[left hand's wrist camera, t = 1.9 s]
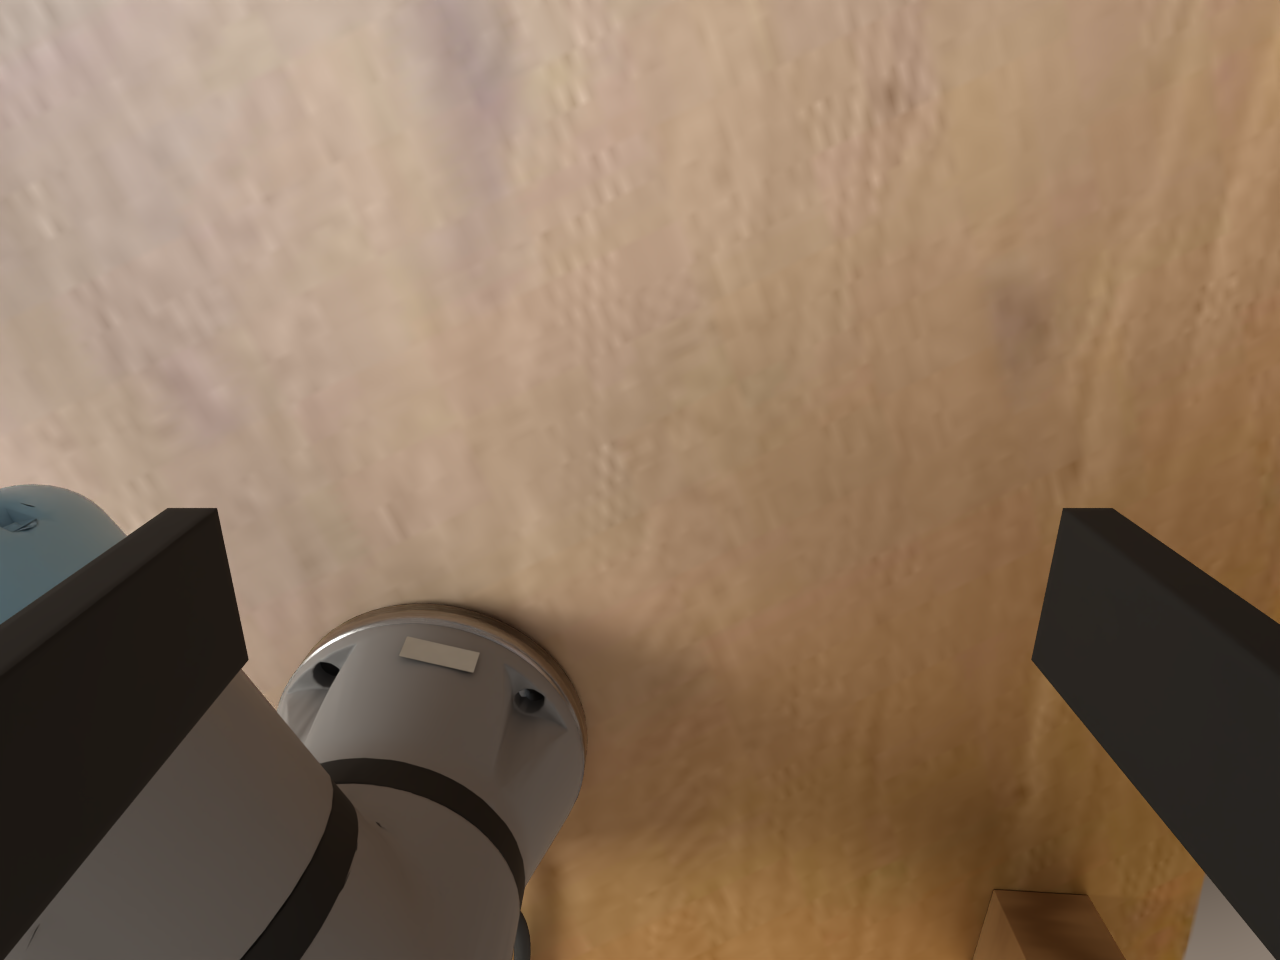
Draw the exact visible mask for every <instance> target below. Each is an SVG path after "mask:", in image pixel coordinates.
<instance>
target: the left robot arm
mask: <svg viewBox="0 0 1280 960" xmlns="http://www.w3.org/2000/svg"><path fill="white" fill-rule="evenodd" d="M247 661H248V655H247V650H246V645H245V640H244V636H243V631H242V626H241V621H240V616H239V612H238V607H237V602H236V597H235V592H234V588H233V583H232V578H231V573H230V568H229V564H228V559H227V554H226V549H225V544H224V540H223V535H222V530H221V525H220V521H219V516H218V511H217V508H167V509H166V510H164V511H163V512H161V513H160V514H158V515H157V516H156V517H154V518H153V519H151V520H150V521H148V522H147V523H146V524H144V525H143V526H141V527H140V528H138V529H137V530H135V531H134V532H133V533H131V534H130V535H128V536H127V535H126V534H125V533H124V532H123V531H122V530H121V529H120V528H119V527H118V526H117V525H116V524H115V522H114V521H113V520H112V519H111V518H110V517H109V516H108V515H107V514H106V513H105V512H104V511H103V510H102V509H101V508H100V507H99V506H98V505H96V504H95V503H94V502H92V501H91V500H89V499H88V498H86V497H84V496H82V495H80V494H78V493H76V492H73V491H70V490H68V489H64V488H60V487H55V486H48V485H34V484H31V485H17V486H11V487H5V488H1V489H0V960H512V956H513V950H514V960H530V935H529V930H528V926H527V923H526V920H525V918H524V916H523V914H522V913H521V911H520V910H521V905H522V900H523V894H524V889H525V886H526V885H527V883H528V881H529V880H530V878H531V876H532V875H533V873H534V871H535V870H536V868H537V866H538V865H539V863H540V861H541V860H542V858H543V857H544V855H545V853H546V852H547V850H548V848H549V847H550V845H551V843H552V842H553V840H554V838H555V837H556V835H557V833H558V832H559V830H560V829H561V827H562V825H563V824H564V822H565V820H566V819H567V817H568V815H569V813H570V811H571V809H572V808H573V806H574V803H575V801H576V799H577V797H578V794H579V791H580V788H581V785H582V780H583V775H584V767H585V759H586V751H587V727H586V720H585V715H584V712H583V708H582V705H581V702H580V700H579V697H578V695H577V693H576V691H575V689H574V687H573V685H572V683H571V682H570V680H569V679H568V677H567V676H566V674H565V673H564V671H563V670H562V669H561V667H560V666H559V665H558V664H557V663H556V661H555V660H554V659H553V658H552V657H551V656H550V655H549V654H548V653H547V652H546V651H545V650H544V649H543V648H541V647H540V646H539V645H538V644H536V643H535V642H534V641H533V640H532V639H530V638H529V637H527V636H526V635H524V634H523V633H521V632H520V631H518V630H516V629H514V628H513V627H511V626H509V625H507V624H505V623H503V622H501V621H499V620H497V619H494V618H492V617H490V616H487V615H484V614H481V613H478V612H475V611H471V610H467V609H464V608H459V607H453V606H448V605H439V604H404V605H396V606H390V607H384V608H380V609H377V610H373V611H370V612H367V613H364V614H362V615H359V616H356V617H354V618H352V619H350V620H348V621H346V622H344V623H343V624H341V625H340V626H338V627H337V628H335V629H333V630H332V631H331V632H330V633H328V634H327V635H326V636H325V637H323V638H322V639H321V640H320V641H319V642H318V643H317V644H316V645H315V646H314V647H313V649H312V650H311V651H310V653H309V654H308V655H307V656H306V658H305V659H304V660H303V662H302V663H301V665H300V666H299V667H298V669H297V670H296V672H295V673H294V674H293V676H292V677H291V679H290V680H289V682H288V684H287V686H286V687H285V689H284V692H283V694H282V696H281V699H280V702H279V705H278V709H277V711H276V710H275V709H274V708H273V707H272V705H271V704H270V703H269V702H268V701H267V699H266V698H265V697H264V696H263V694H262V693H261V692H260V691H259V690H258V688H257V687H256V686H255V685H254V684H253V682H252V681H251V680H250V679H249V678H248V676H247V675H246V674H245V673H244V672H243V670H242V669H241V668H242V667H243V666H244V665H245V663H246V662H247ZM1032 661H1033V662H1034V663H1035V665H1036V666H1037V667H1038V668H1039V670H1040V671H1041V672H1042V673H1043V674H1044V676H1045V677H1046V678H1047V679H1048V681H1049V682H1050V683H1051V684H1052V686H1053V687H1054V688H1055V689H1056V690H1057V692H1058V693H1059V694H1060V695H1061V697H1062V698H1063V699H1064V700H1065V701H1066V703H1067V704H1068V705H1069V706H1070V708H1071V709H1072V710H1073V711H1074V712H1075V714H1076V715H1077V716H1078V717H1079V719H1080V720H1081V721H1082V722H1083V724H1084V725H1085V726H1086V727H1087V728H1088V730H1089V731H1090V732H1091V733H1092V735H1093V736H1094V737H1095V738H1096V739H1097V741H1098V742H1099V743H1100V744H1101V746H1102V747H1103V748H1104V749H1105V750H1106V752H1107V753H1108V754H1109V755H1110V757H1111V758H1112V759H1113V760H1114V762H1115V763H1116V764H1117V765H1118V766H1119V768H1120V769H1121V770H1122V771H1123V773H1124V774H1125V775H1126V776H1127V777H1128V779H1129V780H1130V781H1131V782H1132V784H1133V785H1134V786H1135V787H1136V788H1137V790H1138V791H1139V792H1140V793H1141V795H1142V796H1143V797H1144V798H1145V800H1146V801H1147V802H1148V803H1149V804H1150V806H1151V807H1152V808H1153V809H1154V811H1155V812H1156V813H1157V814H1158V815H1159V817H1160V818H1161V819H1162V820H1163V822H1164V823H1165V824H1166V825H1167V827H1168V828H1169V829H1170V830H1171V831H1172V833H1173V834H1174V835H1175V836H1176V838H1177V839H1178V840H1179V841H1180V842H1181V844H1182V845H1183V846H1184V847H1185V849H1186V850H1187V851H1188V852H1189V853H1190V855H1191V856H1192V857H1193V858H1194V860H1195V861H1196V862H1197V863H1198V865H1199V866H1200V867H1201V868H1202V869H1203V871H1204V872H1205V873H1206V874H1207V876H1208V877H1209V878H1210V879H1211V880H1212V882H1213V883H1214V884H1215V885H1216V887H1217V888H1218V889H1219V890H1220V891H1221V893H1222V894H1223V895H1224V896H1225V898H1226V899H1227V900H1228V901H1229V903H1230V904H1231V905H1232V906H1233V907H1234V909H1235V910H1236V911H1237V912H1238V913H1239V915H1240V916H1241V917H1242V918H1243V920H1244V921H1245V922H1246V923H1247V925H1248V926H1249V927H1250V928H1251V929H1252V931H1253V932H1254V933H1255V934H1256V936H1257V937H1258V938H1259V939H1260V941H1261V942H1262V943H1263V944H1264V945H1265V947H1266V948H1267V949H1268V950H1269V952H1270V953H1271V954H1272V955H1273V956H1274V958H1275V959H1276V960H1280V624H1278V623H1277V622H1275V621H1274V620H1273V619H1271V618H1270V617H1268V616H1267V615H1265V614H1264V613H1262V612H1261V611H1260V610H1258V609H1257V608H1255V607H1254V606H1252V605H1251V604H1250V603H1248V602H1247V601H1245V600H1244V599H1242V598H1241V597H1239V596H1238V595H1237V594H1235V593H1234V592H1232V591H1231V590H1229V589H1228V588H1227V587H1225V586H1224V585H1222V584H1221V583H1219V582H1218V581H1216V580H1215V579H1214V578H1212V577H1211V576H1209V575H1208V574H1206V573H1205V572H1204V571H1202V570H1201V569H1199V568H1198V567H1196V566H1195V565H1193V564H1192V563H1191V562H1189V561H1188V560H1186V559H1185V558H1183V557H1182V556H1180V555H1179V554H1178V553H1176V552H1175V551H1173V550H1172V549H1170V548H1169V547H1168V546H1166V545H1165V544H1163V543H1162V542H1160V541H1159V540H1157V539H1156V538H1155V537H1153V536H1152V535H1150V534H1149V533H1147V532H1146V531H1145V530H1143V529H1142V528H1140V527H1139V526H1137V525H1136V524H1134V523H1133V522H1132V521H1130V520H1129V519H1127V518H1126V517H1124V516H1123V515H1122V514H1120V513H1119V512H1117V511H1116V510H1114V509H1113V508H1063V511H1062V516H1061V521H1060V525H1059V530H1058V535H1057V540H1056V544H1055V549H1054V554H1053V559H1052V564H1051V568H1050V573H1049V578H1048V583H1047V588H1046V592H1045V597H1044V602H1043V607H1042V612H1041V616H1040V621H1039V626H1038V631H1037V636H1036V640H1035V645H1034V650H1033V655H1032Z"/></svg>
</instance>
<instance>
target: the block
mask: <svg viewBox="0 0 1280 960" xmlns="http://www.w3.org/2000/svg"><path fill="white" fill-rule="evenodd" d="M973 960H1126V959H1125V958H1124V956H1123V954H1122V953H1121V951H1120V949H1119V947H1118V946H1117V944H1116V942H1115V941H1114V939H1113V937H1112V936H1111V934H1110V932H1109V930H1108V929H1107V927H1106V925H1105V924H1104V922H1103V920H1102V919H1101V917H1100V915H1099V913H1098V912H1097V910H1096V908H1095V907H1094V905H1093V903H1092V902H1091V900H1090V898H1089V896H1088V895H1073V894H1056V893H1040V892H1024V891H1007V890H993V893H992V897H991V900H990V903H989V907H988V910H987V913H986V917H985V920H984V923H983V927H982V930H981V933H980V937H979V940H978V943H977V947H976V950H975V953H974V957H973Z"/></svg>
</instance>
